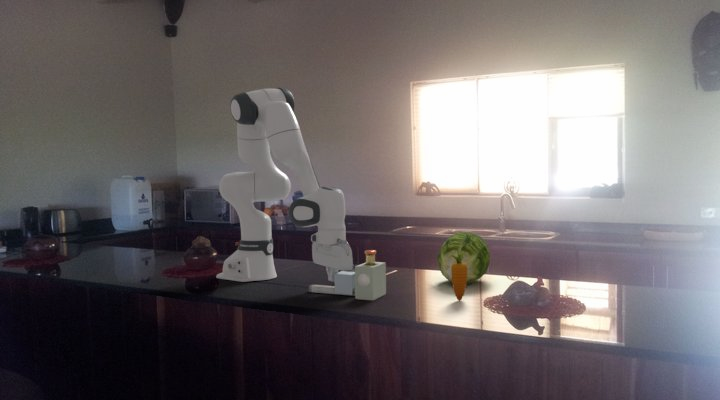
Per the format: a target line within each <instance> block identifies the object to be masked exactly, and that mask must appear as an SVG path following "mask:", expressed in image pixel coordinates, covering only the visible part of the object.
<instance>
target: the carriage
mask: <svg viewBox="0 0 720 400" xmlns="http://www.w3.org/2000/svg"><path fill="white" fill-rule="evenodd" d="M340 271H341V270H340ZM340 271H338V273H335V274H334V280H335V281H334V286H335V294H334V295H339V294H346V295H345V296H350V295H353V289H354V288H355V272H347V271H341V272H340Z"/></svg>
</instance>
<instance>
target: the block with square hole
mask: <svg viewBox="0 0 720 400" xmlns="http://www.w3.org/2000/svg"><path fill="white" fill-rule="evenodd" d="M386 263H387V262H382V261H375V266H369V265H366V262H364V263H361V264H358V265H355V266H354V270H355V296H354V299H355V300H365V301H376V300H377V299H379V298H381V297H383V296H385V295H386V294H387V264H386Z"/></svg>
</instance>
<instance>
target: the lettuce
mask: <svg viewBox="0 0 720 400" xmlns="http://www.w3.org/2000/svg"><path fill="white" fill-rule="evenodd" d="M457 250H460V253H461V254H462V253H464V255H463V259H462V261H461V262H462V263H465V264H466V265H467V283H466V285H468V284H471V283H474V282H476V281H478V280H479V279H481V278H483V276H484V275H485V274H486V273H487V271H488V268H489V265H490V253H491V252H490V247H489V246H488V242H487V241H485V239H484V238H483V237H481V235H479V234H476V233H474V232H466V231H460V232H457V233H455V234H452V235H450V236H449V237H448V238H447V239H446V240H445V241H444V242H443V244H442V245H441V247H440V250H439V251H438V254H437V265H438V269H439V270H440V273H441V275H442V276H443V277H444V278H445V279H446V280H447V281H449V282H451V283H452V270H451V267H452V264H453V263H456V262H457V261H456V259H455V258H454V257H452V256H451V255H452V254H453V255H455V256H456V257H458V253H457Z"/></svg>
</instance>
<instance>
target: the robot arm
mask: <svg viewBox="0 0 720 400" xmlns="http://www.w3.org/2000/svg"><path fill="white" fill-rule="evenodd" d="M294 97H295V96H294V95H293V93H292V92H291V90H289V89H288V88H285V87H276V88H260V89H255V90H251V91H247V92H240V93H237V94H234V95H233V97H232V98H231V101H230V113H231V116H232V118H233V120H234V121H236V123H237V124H236V138H237V155H238V158H239V160H241V161H242V162H243V163H244V164H247V165H249V166H251V167H253V168H254V169H255V171H236V172H235V171H234V172H231V173H225V174H224V175H223V176H222V177H221V179H220V181H219V184H218V190H219V194H220V196H221V198H223V200H225V201H226V202H228V203H229V204H230V205H231V206H232V207H233V208H234V210H235V212H236V213H237V216H238V218H239V225H240V240H239V241H236V242H234V244H235V245H234V246H237V248H236V250H235V251H234V252H233V253H231V255H229V256H228V257H227V258H226V259H225V260H224V261H223V265H222V272H220V273H217V274H216V279H220V280H228V281H233V282H234V281H235V282H242V283H244V282H246V283H247V282H254V281H257V282H258V281H265V280H273V279H275V278H277V277H278V275H277V272H276V267H275V264H274V263H275V261H274V255H273V254H274V253H273V252H274V238H273V237H272V236H273V234H272V219H271V217H270V215H269V214H267V213H265V212H264V211H262V210H259V209H257V208H256V207H255V205H254V203H256V202H257V203H258V202H260V203H261V202H276V201H282V200H285V199H286V198H288V196H289V195H290V193H291V189H292V183H291V180H290V178H289V176H288V175H287V174H286V173H284V172H283V171H282V170H281V169H279V168H278V167H277V165H276V164H275V163H274V160H273V158H272V155H273V157H274V158H275V159H276V160H277V161H279V162H280V163H282V164H284V165H285V166H287V167H288V168H289V169H290V170H291V171H292V172H293V173H294V174H295V177H296V180H297V181H298V185H299V187H300V190H301V193H302V197H298V198H297V199H294V200H293V201H292V202H291V203H290V205H289V207H288V217H289V220H290V222H291V223H292V224H293V225H294V226H296V227H300V228H310V227H315V226H316V227H317V232H315V233H313V234H311V236H310V241H311V242H312V243H311V253H312V255H311V256H312V262H313V263H314V264H317V265H320V266H324V267H325V272H326V273H327V277H328V278H327V280H328V281H329V282H332V283H335V280H334V274H335V273H338V272H340V271H348V270H352V267H353V268H354V263H353V262H354V259H353V251H352V247H351V246H350V244H349V243H348V241H347V237H346V235H347V233H346V232H347V231H346V227H347V226H346V223H345V219H346V213H347V211H346V199H345V195H344V192H343V190H341V189H340V188H338V187H334V186H333V187H332V186H321V185H320V183H319V180H318V177H317V175H316V171H315V169H314V167H313V164H312V161H311V158H310V157H309V153H308V150H307V147H306V144H305V142H304V139H303V138H304V137H303V135H302V131H301V127H300V125H299V122H298V119H297V117H296V115H295V113H294V111H295V108H296V103H295V98H294ZM271 153H272V155H271Z"/></svg>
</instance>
